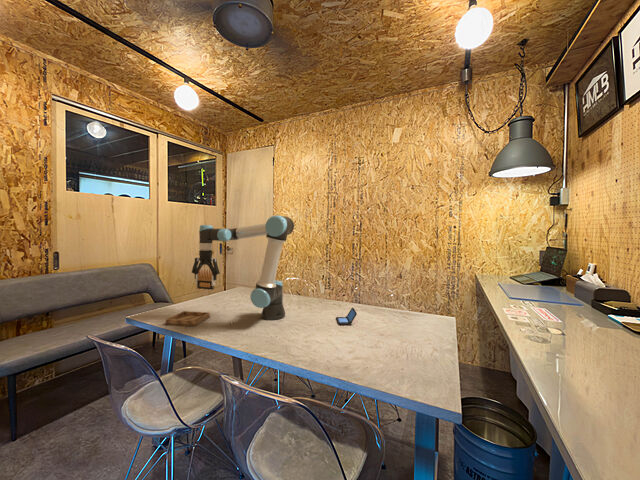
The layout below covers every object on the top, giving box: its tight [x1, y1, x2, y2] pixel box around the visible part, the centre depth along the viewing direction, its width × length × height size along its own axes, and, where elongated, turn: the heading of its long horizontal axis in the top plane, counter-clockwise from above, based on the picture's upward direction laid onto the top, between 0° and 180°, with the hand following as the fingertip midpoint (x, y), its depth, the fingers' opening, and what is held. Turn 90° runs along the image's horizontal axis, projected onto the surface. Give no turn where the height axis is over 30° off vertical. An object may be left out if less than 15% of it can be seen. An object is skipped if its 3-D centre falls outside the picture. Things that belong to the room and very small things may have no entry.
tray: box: [165, 310, 211, 327], centre depth 157 cm, size 18×16×3 cm
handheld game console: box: [335, 307, 358, 327], centre depth 157 cm, size 12×11×7 cm
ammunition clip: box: [196, 269, 215, 290], centre depth 162 cm, size 11×2×12 cm, turn 80°
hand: (205, 284), depth 162 cm, fingers closed on ammunition clip, 10 cm apart
